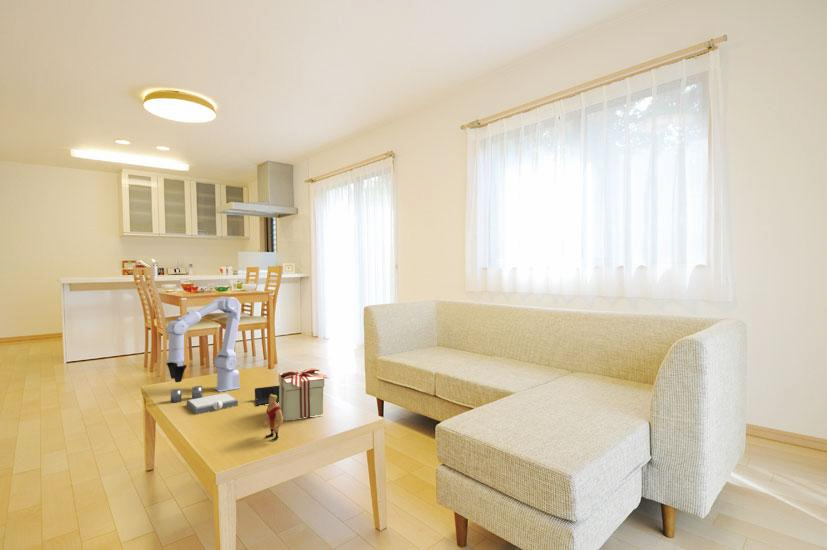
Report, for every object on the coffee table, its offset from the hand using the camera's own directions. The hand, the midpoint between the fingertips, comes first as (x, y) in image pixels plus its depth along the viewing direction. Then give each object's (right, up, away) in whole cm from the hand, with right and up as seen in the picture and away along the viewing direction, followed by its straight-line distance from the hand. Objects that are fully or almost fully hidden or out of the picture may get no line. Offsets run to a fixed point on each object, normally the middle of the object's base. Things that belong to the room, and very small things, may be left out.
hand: (176, 380), depth 175 cm
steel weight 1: (0, -9, 0) cm, 9 cm away
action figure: (+55, -10, -38) cm, 67 cm away
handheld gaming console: (+40, -10, +1) cm, 41 cm away
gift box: (+59, -10, -14) cm, 61 cm away
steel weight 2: (+7, -9, +5) cm, 12 cm away
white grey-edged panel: (+18, -9, -5) cm, 21 cm away
